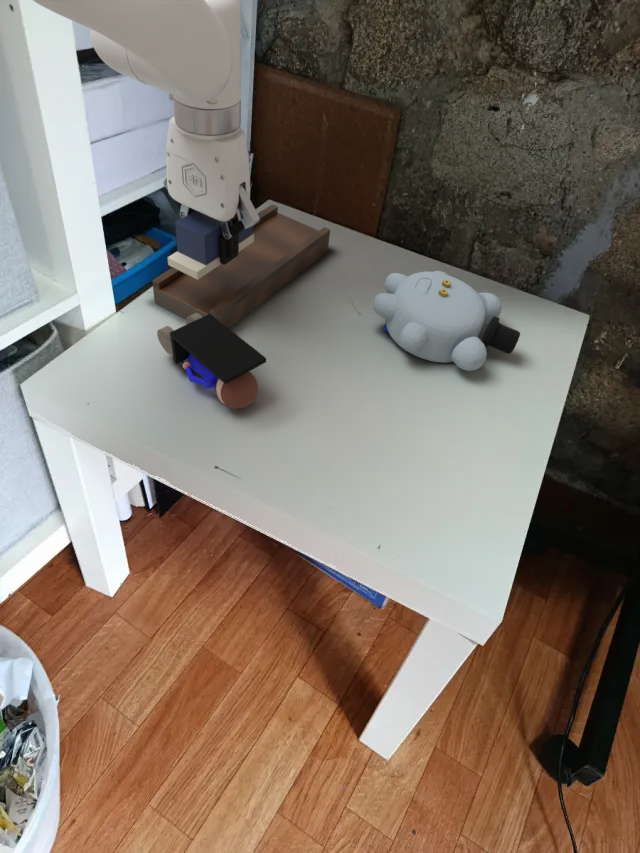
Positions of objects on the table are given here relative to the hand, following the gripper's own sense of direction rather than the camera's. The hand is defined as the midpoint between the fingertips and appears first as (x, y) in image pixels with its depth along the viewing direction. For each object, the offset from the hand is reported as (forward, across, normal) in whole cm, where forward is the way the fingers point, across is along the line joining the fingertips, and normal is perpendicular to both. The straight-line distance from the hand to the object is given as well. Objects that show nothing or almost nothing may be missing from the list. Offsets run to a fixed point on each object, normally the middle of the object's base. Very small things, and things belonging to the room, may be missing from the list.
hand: (212, 250), depth 86 cm
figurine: (+8, +30, +14) cm, 34 cm away
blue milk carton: (0, 0, 0) cm, 0 cm away
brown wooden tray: (+8, 0, +8) cm, 11 cm away
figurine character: (+8, +10, -13) cm, 19 cm away
